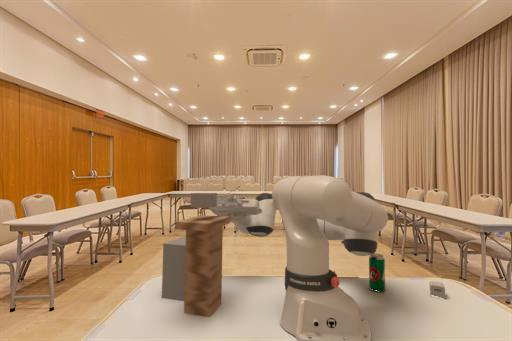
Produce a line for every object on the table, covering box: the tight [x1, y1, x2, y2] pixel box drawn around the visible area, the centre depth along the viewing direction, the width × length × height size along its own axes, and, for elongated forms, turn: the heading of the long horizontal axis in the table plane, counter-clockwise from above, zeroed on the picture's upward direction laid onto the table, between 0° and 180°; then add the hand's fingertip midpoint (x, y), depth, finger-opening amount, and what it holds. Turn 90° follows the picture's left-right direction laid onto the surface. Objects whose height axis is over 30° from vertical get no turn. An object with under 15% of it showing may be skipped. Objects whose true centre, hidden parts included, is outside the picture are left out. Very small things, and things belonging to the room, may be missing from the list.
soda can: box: [368, 253, 386, 292], centre depth 93 cm, size 5×5×12 cm
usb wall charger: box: [429, 280, 446, 299], centre depth 89 cm, size 4×7×4 cm, turn 149°
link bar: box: [190, 192, 237, 209], centre depth 88 cm, size 6×26×4 cm, turn 165°
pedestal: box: [161, 235, 186, 302], centre depth 91 cm, size 8×16×17 cm, turn 165°
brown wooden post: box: [174, 214, 231, 318], centre depth 78 cm, size 10×16×26 cm, turn 165°
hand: (228, 197), depth 97 cm, fingers closed on link bar, 3 cm apart
